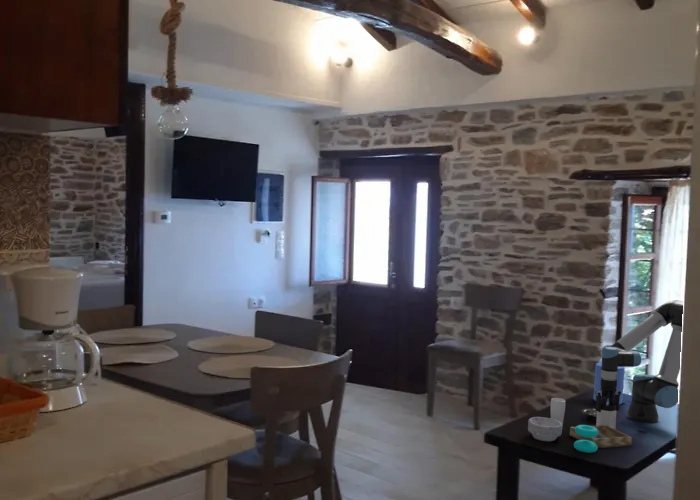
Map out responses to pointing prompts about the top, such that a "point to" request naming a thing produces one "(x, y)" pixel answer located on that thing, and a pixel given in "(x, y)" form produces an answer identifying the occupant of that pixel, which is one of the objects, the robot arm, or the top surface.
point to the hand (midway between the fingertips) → (606, 425)
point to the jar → (607, 415)
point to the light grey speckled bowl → (544, 428)
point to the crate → (605, 437)
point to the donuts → (586, 444)
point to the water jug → (619, 379)
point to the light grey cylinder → (557, 409)
